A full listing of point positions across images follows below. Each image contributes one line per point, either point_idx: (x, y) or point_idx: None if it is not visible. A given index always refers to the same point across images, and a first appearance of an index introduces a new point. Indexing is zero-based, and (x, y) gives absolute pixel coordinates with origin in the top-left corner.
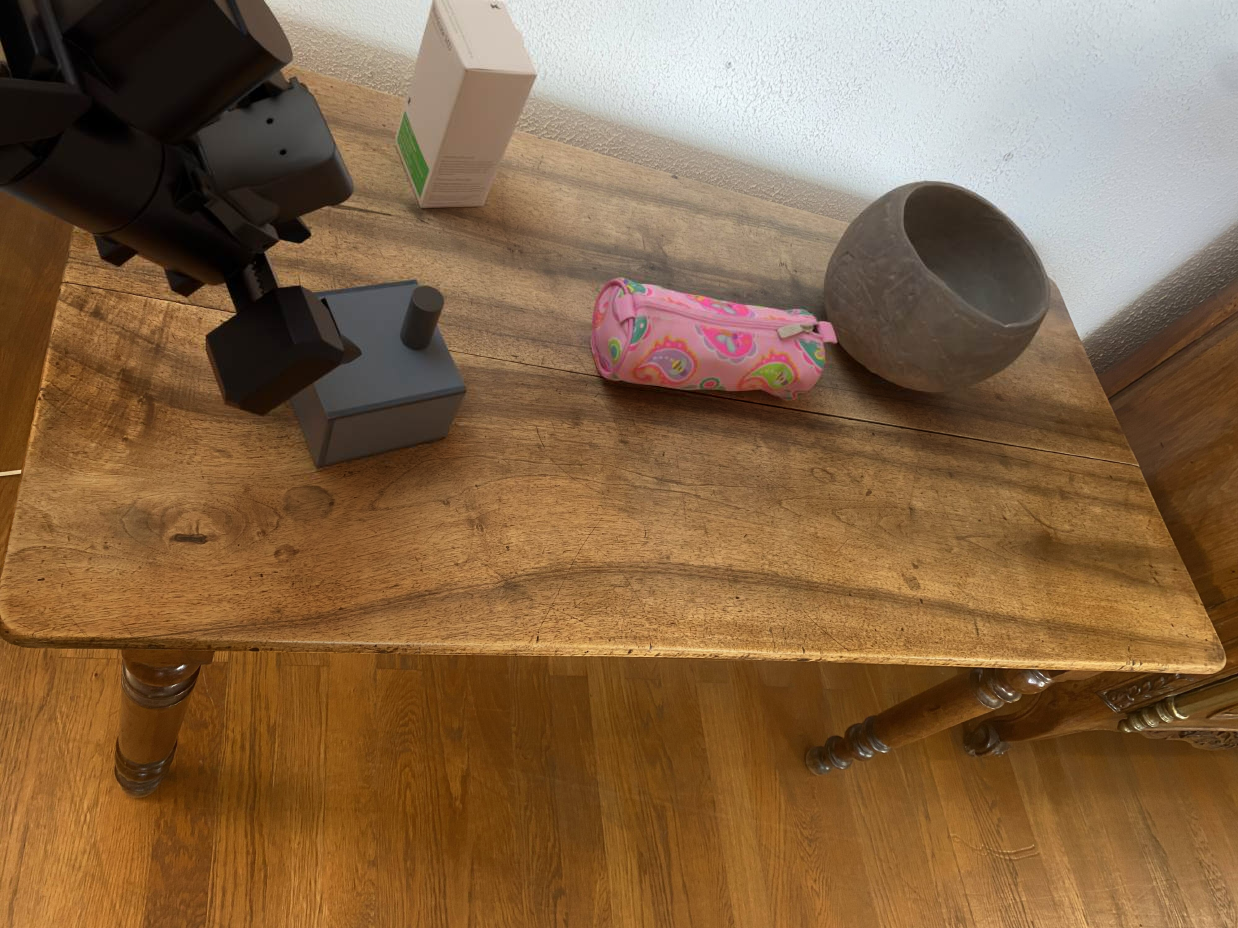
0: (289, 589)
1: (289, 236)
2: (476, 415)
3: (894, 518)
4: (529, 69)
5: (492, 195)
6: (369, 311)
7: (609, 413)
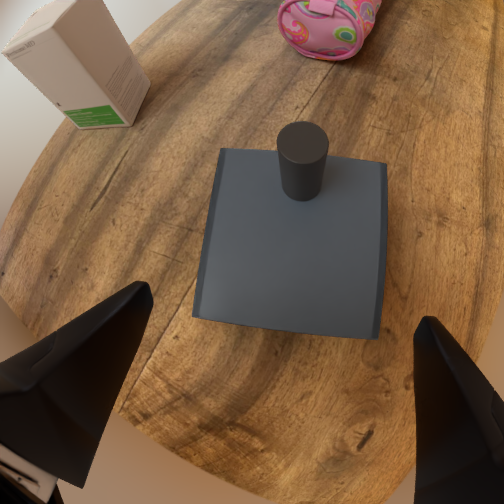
0: None
1: (140, 323)
2: None
3: (451, 9)
4: None
5: None
6: (246, 219)
7: (368, 74)
